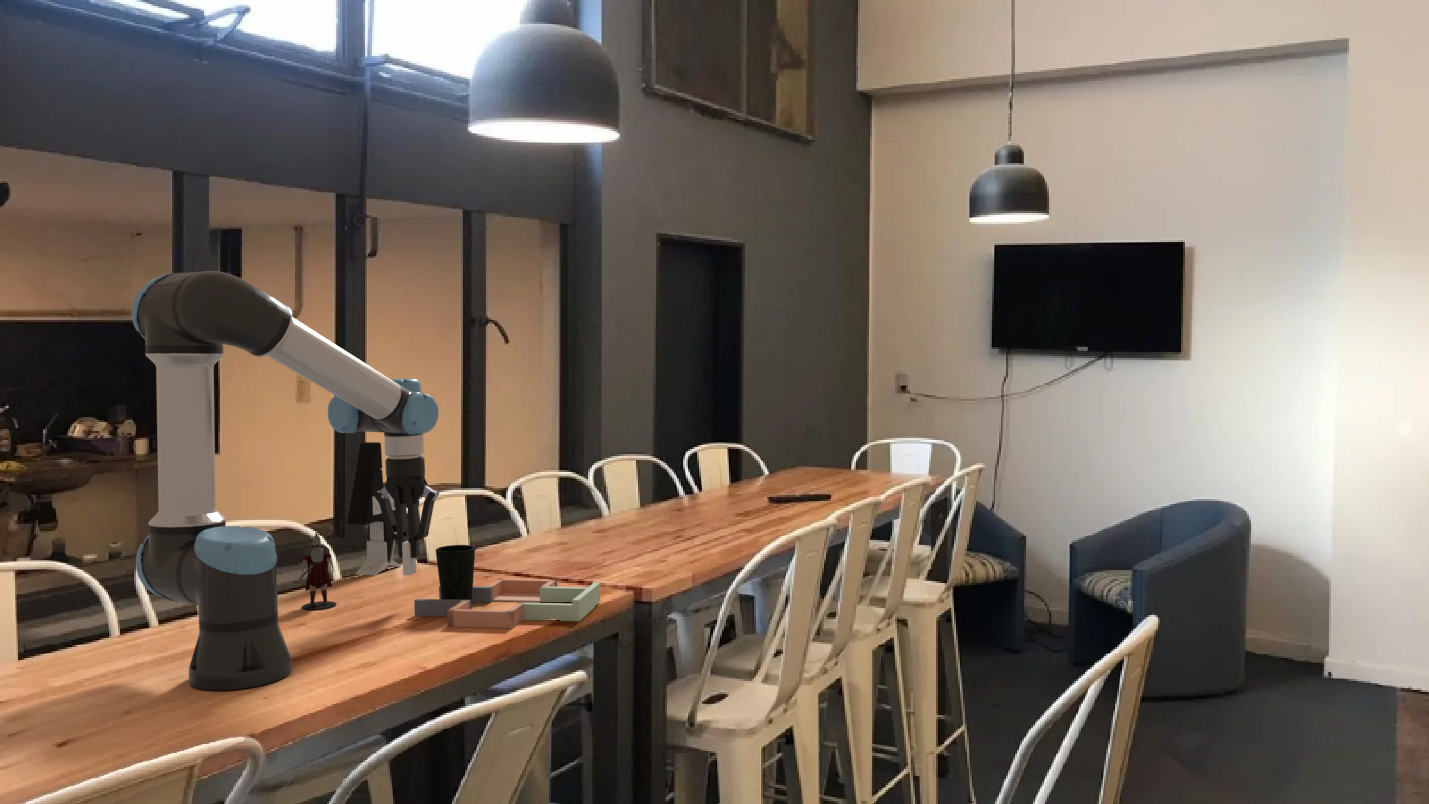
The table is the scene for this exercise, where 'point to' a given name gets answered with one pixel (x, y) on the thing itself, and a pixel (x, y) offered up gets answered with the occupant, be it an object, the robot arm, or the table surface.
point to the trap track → (514, 592)
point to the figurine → (317, 574)
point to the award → (371, 509)
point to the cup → (456, 571)
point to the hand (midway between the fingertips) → (409, 573)
